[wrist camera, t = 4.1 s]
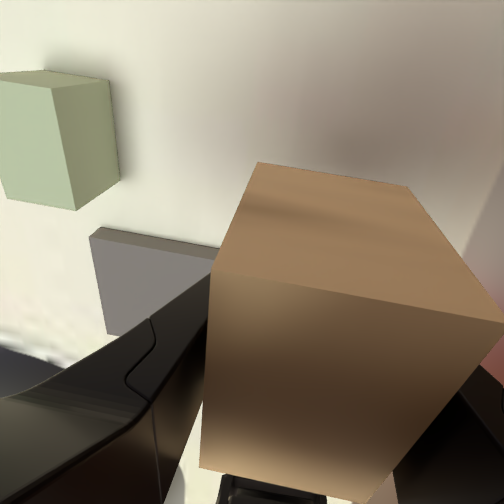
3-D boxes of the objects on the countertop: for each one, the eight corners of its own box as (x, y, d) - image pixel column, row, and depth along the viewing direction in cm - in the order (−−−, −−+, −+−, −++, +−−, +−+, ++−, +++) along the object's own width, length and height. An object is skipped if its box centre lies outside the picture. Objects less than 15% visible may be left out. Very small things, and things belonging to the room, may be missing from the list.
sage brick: (120, 180, 21) (75, 211, 17) (64, 170, 22) (7, 198, 17) (109, 80, 18) (50, 88, 14) (44, 70, 18) (-34, 75, 14)
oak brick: (343, 340, 12) (365, 503, 7) (236, 319, 12) (198, 467, 8) (407, 186, 8) (511, 324, 4) (257, 161, 8) (211, 268, 4)
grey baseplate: (221, 342, 28) (218, 356, 27) (115, 321, 29) (107, 333, 28) (231, 251, 23) (226, 262, 22) (100, 227, 24) (88, 237, 22)
